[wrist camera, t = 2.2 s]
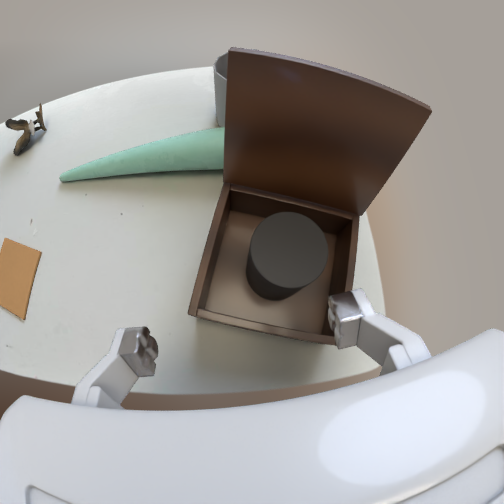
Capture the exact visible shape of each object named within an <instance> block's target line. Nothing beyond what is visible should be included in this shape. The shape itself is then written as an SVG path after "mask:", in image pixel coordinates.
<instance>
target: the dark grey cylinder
mask: <svg viewBox="0 0 504 504" xmlns="http://www.w3.org/2000/svg"><path fill="white" fill-rule="evenodd" d="M327 260H328V244H327V241H326V238H325V235H324V233H323V232H322V230H321V229H320V227H319V226H318V225H317V224H316V223H315V222H314V221H312V220H311V219H310V218H308V217H306V216H304V215H302V214H299V213H295V212H280V213H276V214H273V215H270V216H268V217H267V218H265V219H264V220H263V221H262V222H260V224H259V225H258V226H257V227H256V229H255V230H254V233H253V235H252V238H251V242H250V248H249V254H248V260H247V266H246V277H247V281H248V283H249V285H250V287H251V288H252V290H253V291H254V292H255V293H256V294H257V295H259V296H260V297H262V298H264V299H267V300H272V301H278V300H283V299H286V298H289V297H290V296H292V295H294V294H295V293H297V292H298V291H300V290H301V289H303V288H305V287H306V286H308V285H309V284H311V283H312V282H314V281H315V280H316V279H317V278H318V277H319V276H320V275H321V274H322V272H323V271H324V269H325V267H326V264H327Z"/></svg>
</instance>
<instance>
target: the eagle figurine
mask: <svg viewBox="0 0 504 504" xmlns="http://www.w3.org/2000/svg"><path fill="white" fill-rule="evenodd" d="M35 113H36V115H37V117H38V119H37V120H36V121H34V122H33V121H32V120H30V123H29V124H28V122H27V121H25V120H21V119H20V120H18V121H16V120H12V119H9V120H7V121H6V123H5V124H6V127H8V128H11V129H13V130H17V131H19V130H24V133H23V135H22V136H21V137H20V138H19V139H18V141H17V143H16V146H15V148H14V151H13V152H14V154H15V155H18V154H19V152H20V151H21V149H22V148H23V147H25V146H26V145H27V144H28V142H29V138H30V135H31V133H32V135H33V136H34V133H35V131H37V130H39V129H42V130H44V131H46V128H45V126H44V122H43V117H42V106H41V104H40V108H39V111H38V112H35ZM37 122H38V123H40V127H36V128H34V125H35V124H36V123H37Z"/></svg>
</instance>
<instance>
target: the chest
mask: <svg viewBox="0 0 504 504" xmlns="http://www.w3.org/2000/svg"><path fill="white" fill-rule="evenodd" d="M280 212H295V213H299V214H302V215H304V216H306V217H308V218H310V219H311V220H312V221H314V222H315V223H316V224H317V225H318V226H319V227H320V229H321V230H322V232H323V233H324V235H325V238H326V241H327V244H328V260H327V264H326V267H325V269H324V271H323V272H322V274H321V275H320V276H319V277H318V278H317V279H316V280H315V281H314V282H312V283H311V284H309V285H308V286H306V287H305V288H303V289H301V290H300V291H298V292H297V293H295V294H294V295H292V296H290V297H289V298H286V299H283V300H278V301H272V300H267V299H264V298H262V297H260V296H259V295H257V294H256V293H255V292H254V291H253V290H252V288H251V287H250V285H249V283H248V281H247V277H246V266H247V260H248V254H249V248H250V242H251V238H252V235H253V233H254V230H255V229H256V227H257V226H258V225H259V224H260V222H262V221H263V220H264V219H265V218H267V217H268V216H270V215H273V214H276V213H280ZM359 216H360V215H356V214H353V213H349V212H346V211H342V210H339V209H335V208H331V207H328V206H324V205H320V204H316V203H313V202H309V201H305V200H301V199H297V198H293V197H289V196H284V195H280V194H276V193H272V192H267V191H263V190H258V189H254V188H249V187H245V186H240V185H235V184H230V183H225V182H224V184H223V188H222V191H221V194H220V197H219V201H218V204H217V207H216V211H215V214H214V217H213V221H212V224H211V228H210V231H209V235H208V238H207V242H206V245H205V249H204V252H203V256H202V260H201V263H200V267H199V271H198V274H197V278H196V282H195V286H194V290H193V294H192V298H191V302H190V306H189V310H188V315H191V316H194V317H197V318H201V319H205V320H209V321H213V322H217V323H221V324H225V325H230V326H234V327H238V328H243V329H247V330H252V331H256V332H261V333H266V334H271V335H276V336H281V337H286V338H292V339H297V340H303V341H308V342H314V343H320V344H327V345H335V346H337V344H336V342H335V339H334V331H332V330H331V327H330V324H329V320H328V309H329V308H330V307H329V304H328V296H331V295H335V294H339V293H343V292H347V291H352V287H353V279H354V271H355V262H356V253H357V242H358V230H359Z"/></svg>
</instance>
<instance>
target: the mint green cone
mask: <svg viewBox="0 0 504 504" xmlns="http://www.w3.org/2000/svg"><path fill="white" fill-rule="evenodd" d="M224 130H225V127H220V128H213V129H207V130H201V131H196V132H192V133H187V134H183V135H179V136H174V137H170V138H166V139H163V140H159V141H155V142H151V143H148V144H144V145H141V146H137V147H134V148H131V149H128V150H124V151H121V152H118V153H115V154H112V155H109V156H106V157H103V158H100V159H98V160H95V161H92V162H89V163H87V164H84V165H81V166H79V167H76V168H74V169H71V170H69V171H67V172H64V173H62V174H61V175H60V177H59V179H60V181H62V182H65V181H74V180H81V179H89V178H97V177H106V176H115V175H125V174H136V173H148V172H160V171H176V170H213V169H223V166H224Z"/></svg>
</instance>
